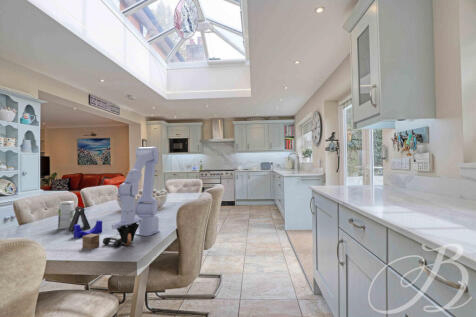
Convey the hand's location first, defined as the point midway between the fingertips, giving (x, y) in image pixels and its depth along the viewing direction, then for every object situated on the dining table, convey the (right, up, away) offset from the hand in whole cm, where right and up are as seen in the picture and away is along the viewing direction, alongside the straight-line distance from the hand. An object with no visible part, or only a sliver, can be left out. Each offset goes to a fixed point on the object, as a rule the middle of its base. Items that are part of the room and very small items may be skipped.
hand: (127, 241), depth 108 cm
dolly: (-6, -2, +2) cm, 6 cm away
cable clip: (-27, -2, +16) cm, 32 cm away
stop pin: (-3, -1, +1) cm, 3 cm away
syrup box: (-48, -2, +30) cm, 57 cm away
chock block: (-15, -2, -2) cm, 15 cm away
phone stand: (-38, -2, +27) cm, 47 cm away
